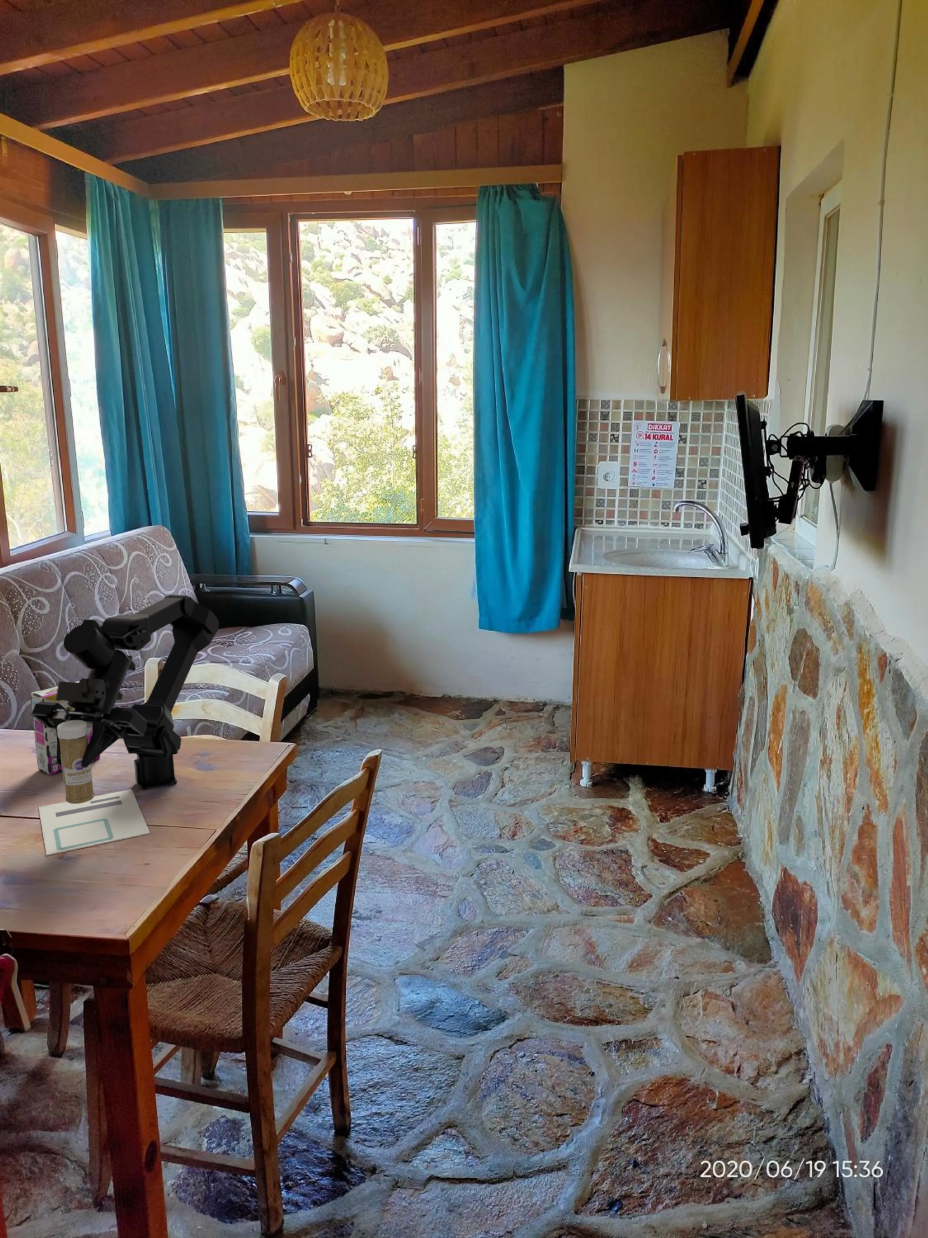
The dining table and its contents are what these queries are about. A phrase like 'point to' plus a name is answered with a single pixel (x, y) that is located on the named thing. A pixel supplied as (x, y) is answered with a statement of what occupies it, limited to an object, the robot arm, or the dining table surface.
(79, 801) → the sprinkles bottle
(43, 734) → the candy bar box
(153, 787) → the robot arm
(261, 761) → the dining table surface
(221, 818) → the dining table surface
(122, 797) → the paper sheet
